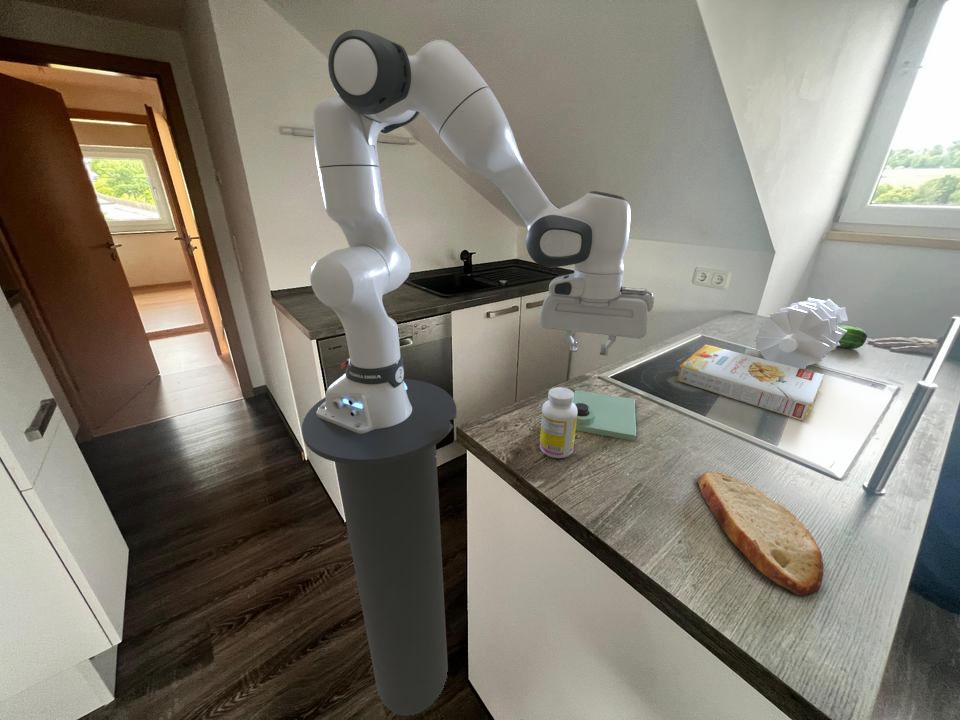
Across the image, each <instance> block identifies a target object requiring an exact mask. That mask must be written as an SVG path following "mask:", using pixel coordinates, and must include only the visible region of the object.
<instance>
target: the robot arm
mask: <svg viewBox="0 0 960 720" xmlns="http://www.w3.org/2000/svg"><path fill="white" fill-rule="evenodd" d="M327 64H328V65H327V67H328V68H327V69H328V73H329V74H328V75H329V79H330V81H331V84H332V86H333V88H334V91H335V92H336V94H337V95H332V96H328V97H326V98H323V99H322V100H320V101H319V102H318V103H317V104H316V106H315V107H314V111H313V124H312V125H313V143H314V153H315V160H316V167H317V172H318V177H319V183H320V187H321V193H322V198H323V203H324V209H325V212H326V214H327V216H328V217H329V219H331V220H332V221H333V222H335V224H337V225H338V226H339V228H340V229H341V231H342V233H343V234H344V237H345V240H346V241H347V245H348V247H344V248H340V249H335V250H333V251H331V252H329V253H328V254H326V255H324V256H322V257H321V258H320V259H318V260H317V261H315V262H314V264H313V265H312V266H311V269H310V275H309V277H310V278H309V279H310V285H311V288H312V291H313V293H314V295H315V296H316V298H318V300H319V301H320V302H321V303H322V304H323V305H325V306H326V307H329V308H330V309H332V310H333V311H334V312H335V314H336V315H337V317H338V318H339V320H340V323H341V325H342V327H343V330H344V333H345V338H346V344H347V348H348V349H347V350H348V355H349V358H347V359H346V361H345V362H343V363H341V364H340V366H341V367H340V369H341V370H343V369H345V368H346V370H345V373H344V374H343V375H341V376H340V377H338V378H337V379H336V380H335V381H333V382H332V383H331V384H330V385H329V387H328V388H327V389H326V391H325V396H324V398H325V402H324V403H323V404H322V405H321V406H320V407H319V408H318V410H317V417H319V418H321V419H324V420H326V421H328V422H331V423H333V424H336V425H338V426H341V427H343V428H346V429H348V430H351V431H353V432H356V433H358V434H363V433H366V432H369V431H372V430H375V429H381V428H387V427H391V426H394V425H397V424H399V423H401V422H403V421H404V420H406V419H407V418H408V417H409V416H410V414H411V413H412V406H411V404H410V402H409V399H408V396H407V393H406V390H407V386H406V385H405V383H404V379H405V367H404V359H403V355H402V354H401V346H400V335H399V334H400V333H399V326H398V323H397V322H396V321H395V319H394V318H392V317H390V316H389V315H388V313H387V311H386V308H385V306H384V303H383V296H384V295H386V294H389V293H390V292H393V291H395V290H397V289H398V288H399V287H400V286H401V285H403V284H404V283H405V282H406V280H407V279H408V278H409V276H410V273H411V269H412V264H411V259H410V256H409V254H408V253H407V251H406V250H405V248H403V247H402V246H401V245H400V243H399V242H398V239H397V237H396V236H395V233H394V230H393V228H392V224H391V221H390V219H389V215H388V213H387V208H386V202H385V197H384V189H383V183H382V181H383V180H382V175H381V169H380V160H379V154H378V139H379V138H378V137H379V135H380V133H382V134H388V133H390V132H392V131H396V129H399V128H402V127H404V126H407V125H408V124H410V123H412V122H413V121H415V120H416V119H417V118H418V117H419V116H420V114H421V115H422V116H423V117H424V118H425V119H426V120H427V121H428V122H429V125H431V126H432V128H433V129H434V131H435V132H436V133H437V135H438V137H439V138H440V139H441V141H442V142H443V143H444V145H446V146H447V148H448V149H449V150H450V151H451V153H452V154H453V155H454V156H455V157H456V158H457V159H458V160H459V161H460V162H461V163H462V164H463V165H464V166H466V167H467V168H468V169H470V170H471V171H473V172H475V173H476V174H479V175H481V176H482V177H484V178H486V179H487V180H489V181H490V182H492V183H493V184H494V185H495V186H496V187H497V188H498V189H499V190H500V191H501V192H502V193H503V195H504V196H505V198H506V199H507V200H508V201H509V203H510V204H511V206H512V207H513V209H515V211H516V212H517V214H518V215H519V216H520V218H521V219H522V220H523V222H524V224H525V227H526V230H527V234H526V239H525V245H526V246H525V247H526V251H527V253H528V255H529V257H530V258H531V259H532V260H533V262H535V264H537V265H539V266H541V267H543V268H544V267H545V268H550V269H551V268H552V269H553V268H559V267H561V268H562V267H567V266H572V265H573V266H574V270H573V273H569V274H565V275H560V276H556V277H555V278H553V279H552V280H551V281H550V282H549V285H548V294H547V295H546V296H545V299H544V300H543V302H542V306H541V312H540V318H539V324H540V325H541V326H542V328H543V329H547V330H557V331H558V330H559V331H565V334H564V335H565V338H566V339H567V342H568V344H569V349H568V351H569V352H573V353H574V352H575V353H577V352H578V345H579V341H578V340H575V339H574V337H573V335H574V332H575V333H576V332H577V333H585V334H594V335H602V336H608V338H607V339H608V341H607V342H606V343H605V344H600V350H599V356H606V357H608V354H609V349H610V348H611V347H612V346H613V345H614V343H615V342H616V340H617V337H619V338H621V337H623V338H629V339H638V340H639V339H643V338H644V337H645V336H646V335H647V332H648V325H649V313H650V312H651V311H652V310H653V308H654V303H655V295H654V294H653V293H652V292H651V291H649V290H648V289H646V288H640V287H639V288H635V287H627V286H622V285H623V278H624V273H625V266H624V257H625V253H626V251H627V249H628V246H629V239H630V232H631V231H630V230H631V218H632V217H631V216H632V215H631V213H632V212H631V205H630V203H629V201H628V200H627V199H626V198H625V197H623V196H622V195H618V194H614V193H609V192H602V191H597V190H591V191H588V192H586V193H585V194H584V195H583V196H582V197H580V198H578V199H577V200H574V201H573V202H571V203H569V204H567V205H564V206H563V207H559V206H557V205H556V204H554V202H552V200H550V198H548V196H547V195H546V193H545V192H544V191H543V189H542V188H541V186H540V185H539V183H538V182H537V180H536V179H535V178H534V176H533V175H532V174H531V172H530V170H529V169H528V167H527V165H526V163H525V162H524V159H523V158H522V155H521V153H520V150H519V147H518V145H517V142H516V139H515V135H514V132H513V130H512V127H511V125H510V123H509V120H508V118H507V116H506V113H505V111H504V109H503V108H502V106H501V104H500V102H499V101H498V99H497V97H496V95H495V94H494V92H493V91H492V89H491V88H490V87H489V85H488V84H487V82H486V81H485V79H484V78H483V77H482V76H481V74H480V73H479V71H478V70H477V69H476V68H475V67H474V65H473V64H472V63H471V62H470V61H469V60H468V59H467V57H465V56H464V54H463V53H462V52H461V51H460V50H459V49H458V48H457V47H456V46H455V45H454V44H453V43H451V42H450V41H447V40H445V39H434V40H431V41H429V42H428V43H426V44H424V45H423V46H421V48H420V49H419V50H418V51H416V52H415V54H412V55H410V54H408V53H407V51H406V49H405V47H404V46H403V45H401V44H400V43H397V42H394V41H392V40H390V39H388V38H385V37H383V36H382V35H379V34H377V33H374V32H372V31H368V30H365V29H364V30H363V29H351V30H347V31H344V32H343V33H341V34H340V35H339V36H337V37H336V39H335V40H334V41H333V44H332V46H331V48H330V50H329V54H328V63H327Z"/></svg>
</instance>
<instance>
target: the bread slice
mask: <svg viewBox="0 0 960 720" xmlns="http://www.w3.org/2000/svg"><path fill="white" fill-rule="evenodd" d="M697 485H698V486H699V490H700V492H701V496H702V497H703V498H704V501H705V503H706V504H707V505H708V506H709V508H710V510H711V513H713V516H714V517H715V519H716V520H717V522H718V525H720V527H721V528H722V530H723V532H724V533H725V534H726V535H727V537H728V539H729V540H730V541H731V543H732V544H733V545H734V546H735V547H736V548H737V549H739V550H740V552H741V554H743V556H744V557H746V559H747V560H748V561H749V562H750V563H751V564H752V565H753V567H755V568H756V569H757V570H758V571H759V572H760V573H761V574H763V575H764V576H765V577H766V578H768V579H769V580H770V581H772V582H773V583H775V584H776V585H778V586H780V587H782V588H785V589H786V590H788V591H790V592H791V593H793V594H794V595H796V596H801V597H802V596H806V595H809V594H812V593H815V592H818V591H819V590H820V588H821V587H822V582H823V579H824V568H825V567H824V566H825V565H824V559H823V554H822V552H821V549H820V547H819V545H818V543H817V542H816V539H814V537H813V536H812V533H811V532H810V531H809V529H807V528H806V526H805V525H804V523H803V522H801V521H800V520H799V519H798V518H797V517H796V516H795V515H794V514H793V513H792V512H791V511H790V510H788V509H787V508H786V507H784V506H782V505H781V504H779V503H777V502H776V501H774V500H773V499H772V498H770V497H768V496H767V494H765V493H764V492H762V491H760V490H759V489H757V488H755V487H754V486H752V485H750V484H749V483H746V482H745V481H742V480H740V479H739V478H737V477H733V476H731V475H728V474H724V473H721V472H714V471H706V472H705V473H703V475H701V476H700V477H699V478H698V479H697Z"/></svg>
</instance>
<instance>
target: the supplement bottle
mask: <svg viewBox="0 0 960 720" xmlns="http://www.w3.org/2000/svg"><path fill="white" fill-rule="evenodd" d="M574 393H575V392H574V391H573V390H571V389H569V388H567V387H563V386H557V387H556V386H555V387H552V388H550V389H549V390H548V392H547V394H548V396H547V398H548V399H547V400H546V401H544V403H543V404H542V406H541V407H542V408H541V419H540V421H541V422H540V435H539V448H540V451H541V452H542V453H543V454H544V455H546V456H548V457H549V458H552V459H553V458H554V459H564V458H567V457H569V456H571V455H572V454H573V452H574V448H575V447H574V446H575V438H576V431H577V430H576V421H577V412H578V410H577V407H576V405H575V404H574V403H573V400H574Z"/></svg>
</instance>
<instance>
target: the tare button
mask: <svg viewBox="0 0 960 720" xmlns="http://www.w3.org/2000/svg"><path fill="white" fill-rule="evenodd" d="M575 405H576V407H577V410H578V412H577V416H587V415H588V409H589V407H588V405H586V404H583V403H577V404H575Z"/></svg>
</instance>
